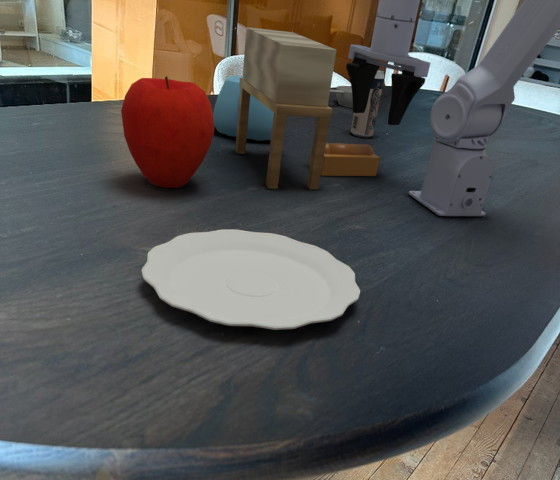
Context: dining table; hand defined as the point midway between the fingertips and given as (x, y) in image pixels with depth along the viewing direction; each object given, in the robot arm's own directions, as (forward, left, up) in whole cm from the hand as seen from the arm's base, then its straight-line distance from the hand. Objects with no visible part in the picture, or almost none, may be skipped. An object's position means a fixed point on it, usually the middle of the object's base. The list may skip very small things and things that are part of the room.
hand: (375, 118), depth 93 cm
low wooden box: (0, +4, -8) cm, 9 cm away
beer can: (+25, -11, -9) cm, 29 cm away
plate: (-39, +31, -9) cm, 51 cm away
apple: (-8, +34, -9) cm, 36 cm away
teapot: (+22, +14, -9) cm, 27 cm away
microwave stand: (0, +16, -8) cm, 18 cm away
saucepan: (+54, -20, -9) cm, 58 cm away
